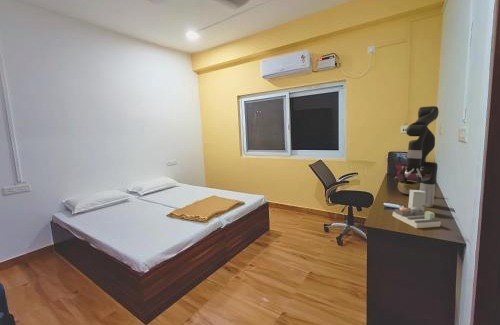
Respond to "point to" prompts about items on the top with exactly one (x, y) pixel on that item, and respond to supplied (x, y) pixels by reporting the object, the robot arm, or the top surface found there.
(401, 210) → the terracotta button
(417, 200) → the skincare box
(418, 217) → the panel
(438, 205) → the top surface
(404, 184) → the tan woven basket
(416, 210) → the grey button
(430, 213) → the sage slider
